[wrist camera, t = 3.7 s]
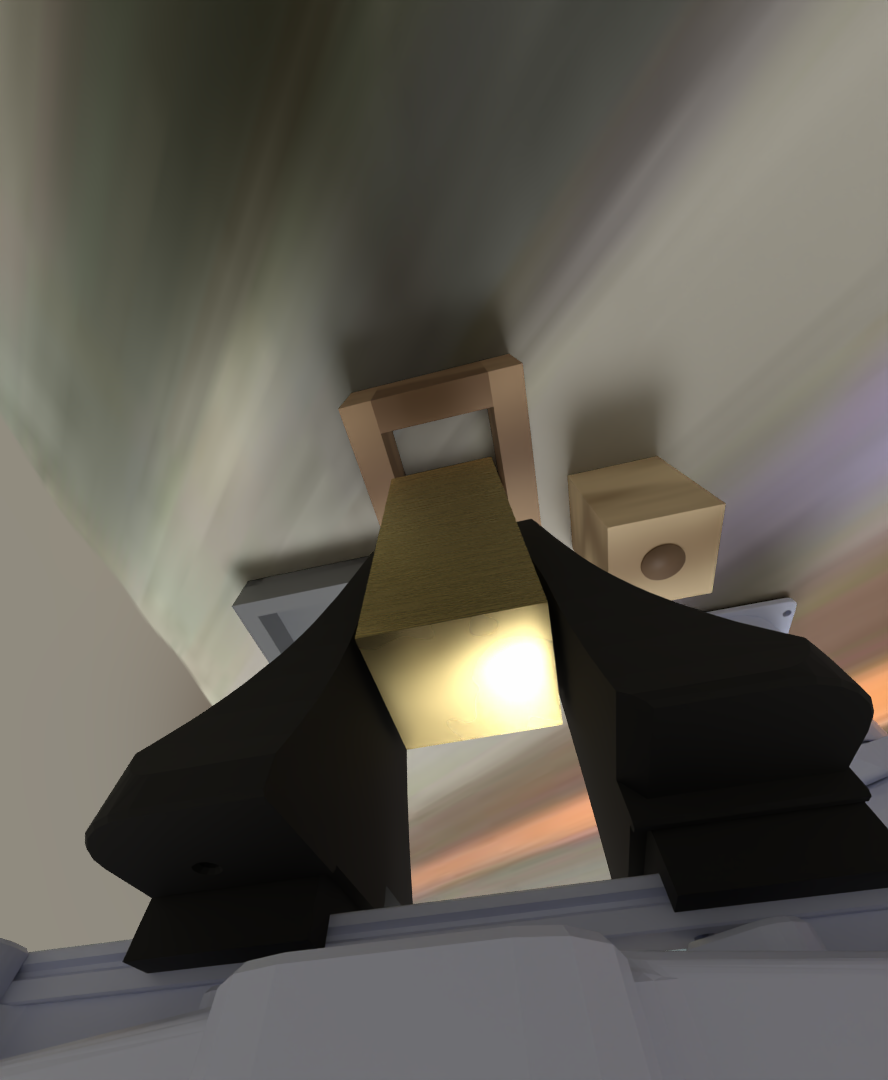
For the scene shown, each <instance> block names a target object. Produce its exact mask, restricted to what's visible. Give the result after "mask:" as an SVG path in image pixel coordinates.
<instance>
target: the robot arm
mask: <svg viewBox="0 0 888 1080" xmlns="http://www.w3.org/2000/svg"><path fill="white" fill-rule="evenodd" d="M517 524H518V527H519V529H520V532H521V535H522V537H523V540H524V542H525V545H526V547H527V550H528V553H529V555H530V558H531V560H532V563H533V565H534V568H535V571H536V573H537V576H538V578H539V581H540V583H541V586H542V589H543V591H544V594H545V596H546V599H547V602H548V609H549V617H550V625H551V633H552V642H553V650H554V658H555V666H556V675H557V683H558V691H559V695H560V698H561V702H562V705H563V709H564V712H565V715H566V719H567V722H568V726H569V729H570V732H571V736H572V739H573V743H574V746H575V750H576V753H577V756H578V760H579V763H580V767H581V770H582V774H583V777H584V781H585V784H586V788H587V792H588V795H589V799H590V802H591V806H592V809H593V813H594V817H595V820H596V824H597V827H598V831H599V835H600V838H601V842H602V846H603V849H604V853H605V857H606V860H607V864H608V868H609V871H610V875H611V880H603V881H595V882H587V883H579V884H571V885H563V886H555V887H547V888H539V889H531V890H523V891H515V892H507V893H499V894H491V895H483V896H475V897H467V898H459V899H451V900H443V901H435V902H427V903H419V904H413V901H412V884H411V866H410V849H409V823H408V797H407V749H406V747H405V745H404V743H403V741H402V739H401V736H400V734H399V732H398V730H397V728H396V726H395V724H394V722H393V719H392V717H391V715H390V713H389V711H388V709H387V707H386V704H385V702H384V700H383V698H382V696H381V694H380V692H379V690H378V687H377V685H376V683H375V681H374V679H373V677H372V675H371V672H370V670H369V668H368V666H367V664H366V662H365V660H364V658H363V655H362V653H361V651H360V649H359V647H358V645H357V643H356V640H355V635H356V631H357V627H358V622H359V618H360V614H361V609H362V605H363V601H364V596H365V592H366V588H367V583H368V579H369V575H370V570H371V566H372V562H373V557H374V553H375V552H372V554H371V555H370V556H369V557H368V558H367V559H366V561H365V562H364V563H363V564H362V566H361V567H360V568H359V570H358V571H357V572H356V573H355V575H354V576H353V577H352V579H351V580H350V581H349V582H348V584H347V585H346V586H345V587H344V588H343V590H342V591H341V592H340V593H339V595H338V596H337V597H336V598H335V599H334V600H333V602H332V603H331V604H330V605H329V606H328V607H327V608H326V609H325V611H324V612H323V613H322V614H321V615H320V616H319V617H318V618H317V620H316V621H315V622H314V623H313V624H312V625H311V626H310V627H309V628H308V629H307V630H306V631H305V632H304V633H303V634H302V635H301V636H300V637H299V638H298V639H297V640H296V641H294V642H293V643H292V644H291V645H290V646H289V647H288V648H287V649H286V650H285V651H284V652H282V653H281V654H280V655H279V656H278V657H277V658H275V659H274V660H273V661H272V662H270V663H269V664H268V665H267V666H266V667H264V668H263V669H262V670H261V671H259V672H258V673H257V674H256V675H254V676H253V677H252V678H251V679H250V680H248V681H247V682H246V683H244V684H243V685H242V686H240V687H239V688H237V689H236V690H235V691H233V692H232V693H231V694H229V695H228V696H227V697H225V698H224V699H222V700H221V701H219V702H218V703H216V704H215V705H213V706H212V707H211V708H209V709H208V710H206V711H205V712H203V713H202V714H200V715H199V716H197V717H195V718H194V719H192V720H191V721H189V722H188V723H186V724H184V725H183V726H181V727H179V728H178V729H176V730H174V731H173V732H171V733H170V734H168V735H166V736H165V737H163V738H161V739H160V740H158V741H156V742H155V743H153V744H152V745H150V746H148V747H146V748H145V749H143V750H141V751H140V752H138V753H137V754H135V756H134V757H133V759H132V761H131V762H130V764H129V765H128V767H127V768H126V770H125V771H124V773H123V775H122V776H121V778H120V779H119V781H118V782H117V784H116V785H115V787H114V789H113V790H112V792H111V793H110V795H109V796H108V798H107V800H106V801H105V803H104V804H103V806H102V807H101V809H100V810H99V812H98V814H97V815H96V817H95V818H94V820H93V821H92V823H91V825H90V826H89V828H88V829H87V831H86V833H85V844H86V848H87V850H88V852H89V853H90V855H91V857H92V858H93V859H94V860H95V861H96V862H97V863H98V864H100V865H101V866H102V867H104V868H105V869H106V870H108V871H109V872H111V873H113V874H114V875H116V876H117V877H119V878H121V879H122V880H124V881H125V882H127V883H129V884H130V885H132V886H133V887H135V888H137V889H138V890H140V891H142V892H143V893H145V894H146V895H148V896H149V897H151V898H152V899H151V901H150V903H149V906H148V908H147V910H146V912H145V914H144V916H143V918H142V921H141V923H140V925H139V927H138V929H137V931H136V934H135V936H134V938H133V939H131V940H123V941H115V942H107V943H99V944H91V945H83V946H75V947H67V948H59V949H51V950H43V951H35V952H27V949H26V948H25V947H23V946H21V945H19V944H17V943H14V942H12V941H9V940H5V939H2V938H0V1080H888V733H887V732H886V731H884V730H883V729H882V728H881V727H880V726H879V725H878V724H877V723H876V722H875V721H874V720H873V713H874V709H873V704H872V700H871V697H870V696H869V695H868V694H867V693H866V692H865V691H864V690H863V689H862V688H861V687H860V686H859V685H858V684H857V683H856V682H855V681H854V680H853V679H852V678H851V677H850V676H849V675H848V674H847V673H845V672H844V671H843V670H842V669H841V668H840V667H839V666H838V665H837V664H836V663H835V662H834V661H833V660H831V659H830V658H829V657H828V656H827V655H826V654H824V653H823V652H822V651H821V650H820V649H818V648H817V647H816V646H815V645H813V644H812V643H811V642H810V641H808V640H807V639H806V638H804V637H799V636H795V635H791V634H788V632H789V629H790V626H791V622H792V619H793V616H794V613H795V609H796V606H797V603H796V602H795V601H794V600H793V599H792V598H782V599H777V600H771V601H766V602H760V603H755V604H749V605H744V606H738V607H733V608H727V609H722V610H716V611H711V612H703V611H700V610H697V609H694V608H691V607H688V606H685V605H682V604H679V603H676V602H674V601H671V600H668V599H666V598H663V597H661V596H658V595H655V594H653V593H650V592H648V591H646V590H643V589H641V588H639V587H636V586H634V585H632V584H630V583H628V582H626V581H624V580H622V579H620V578H618V577H616V576H614V575H612V574H610V573H608V572H606V571H604V570H603V569H601V568H599V567H597V566H596V565H594V564H592V563H591V562H589V561H588V560H586V559H585V558H583V557H581V556H580V555H578V554H577V553H576V552H574V551H573V550H571V549H570V548H569V547H567V546H566V545H564V544H563V543H562V542H560V541H559V540H558V539H556V538H555V537H554V536H553V535H551V534H550V533H549V532H548V531H546V530H545V529H544V528H543V527H542V526H540V525H539V524H538V523H537V522H536V521H534V520H533V519H527V520H523V521H518V522H517ZM686 948H687V950H686V951H668V950H677V949H686Z"/></svg>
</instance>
